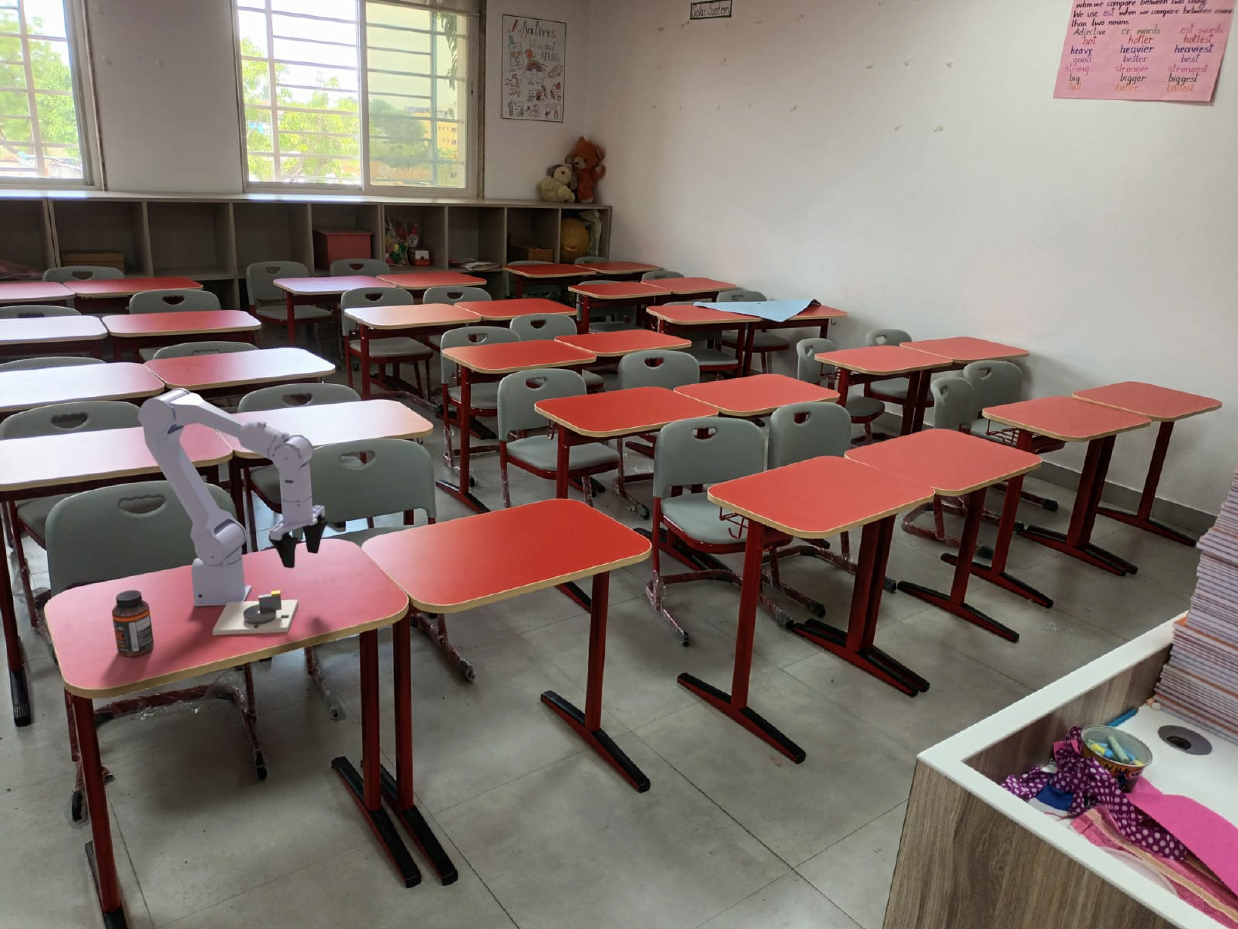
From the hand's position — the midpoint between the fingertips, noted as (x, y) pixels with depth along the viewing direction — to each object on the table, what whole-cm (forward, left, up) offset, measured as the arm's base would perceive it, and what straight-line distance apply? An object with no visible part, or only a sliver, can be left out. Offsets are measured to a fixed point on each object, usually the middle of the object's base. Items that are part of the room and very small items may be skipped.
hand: (301, 559), depth 176 cm
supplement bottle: (-27, -16, -10) cm, 33 cm away
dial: (-7, -7, -9) cm, 13 cm away
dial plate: (-8, -6, -10) cm, 14 cm away
